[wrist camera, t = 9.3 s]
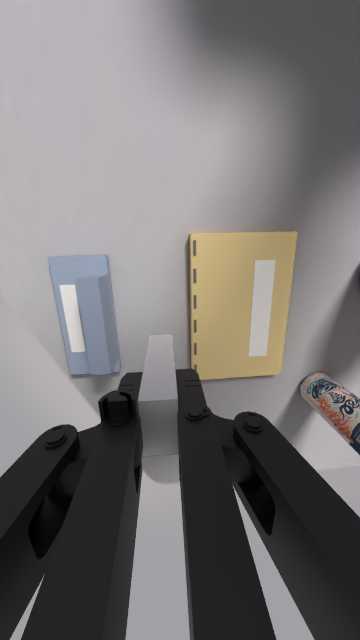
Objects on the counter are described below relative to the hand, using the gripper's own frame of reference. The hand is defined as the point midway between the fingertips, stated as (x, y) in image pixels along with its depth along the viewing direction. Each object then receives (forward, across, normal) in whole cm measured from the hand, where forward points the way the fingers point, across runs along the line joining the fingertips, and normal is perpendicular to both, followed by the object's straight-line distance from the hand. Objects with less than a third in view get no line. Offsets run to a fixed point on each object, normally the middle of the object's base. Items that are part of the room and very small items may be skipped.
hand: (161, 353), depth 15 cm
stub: (+12, -9, -1) cm, 15 cm away
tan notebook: (+13, +9, -1) cm, 16 cm away
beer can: (+13, +21, -13) cm, 28 cm away
